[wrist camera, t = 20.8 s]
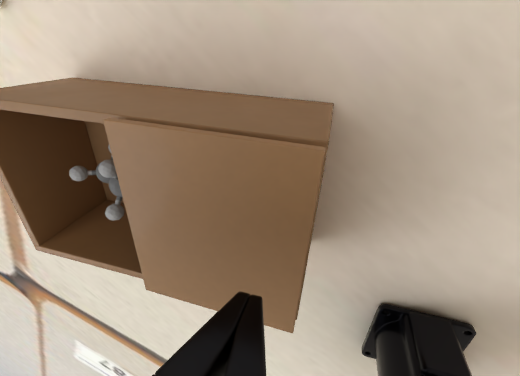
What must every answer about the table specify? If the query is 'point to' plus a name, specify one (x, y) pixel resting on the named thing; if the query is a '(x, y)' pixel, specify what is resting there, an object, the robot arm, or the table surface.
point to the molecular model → (106, 175)
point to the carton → (96, 151)
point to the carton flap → (218, 213)
